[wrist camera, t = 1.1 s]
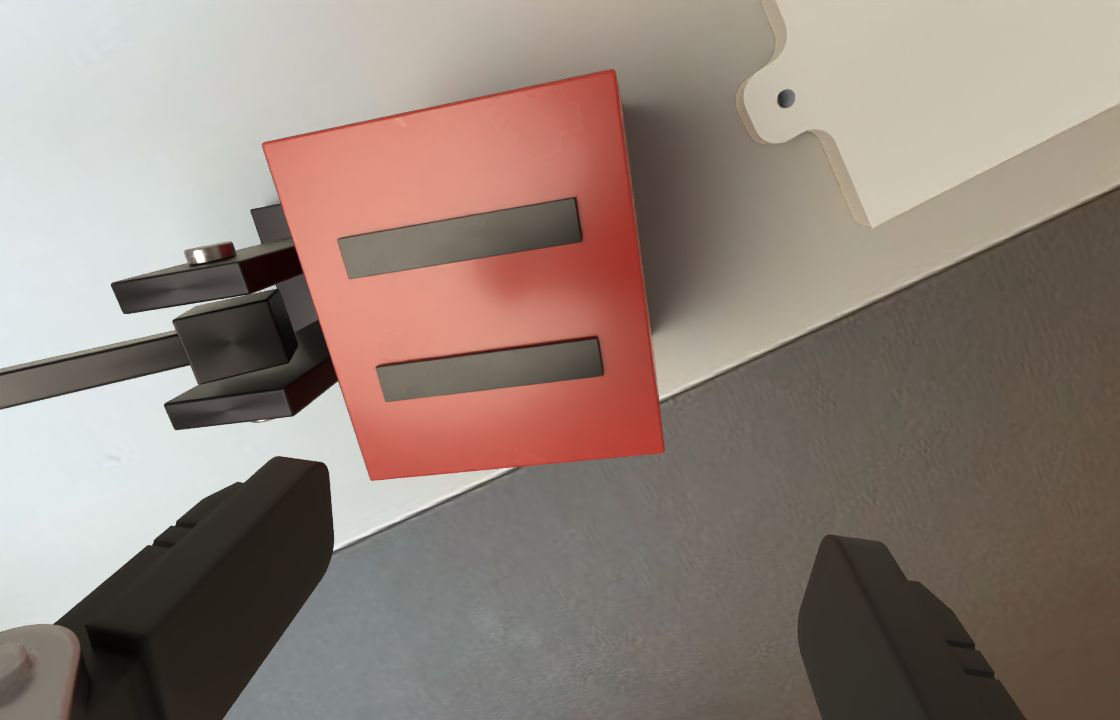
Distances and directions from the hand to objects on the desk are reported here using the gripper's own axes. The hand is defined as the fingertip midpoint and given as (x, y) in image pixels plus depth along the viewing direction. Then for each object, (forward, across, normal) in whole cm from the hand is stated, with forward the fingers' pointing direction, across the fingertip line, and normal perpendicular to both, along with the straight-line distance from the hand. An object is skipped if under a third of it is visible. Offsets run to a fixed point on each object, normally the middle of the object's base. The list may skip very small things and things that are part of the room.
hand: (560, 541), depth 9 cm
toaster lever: (+9, +17, +2) cm, 19 cm away
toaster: (+20, +4, -1) cm, 21 cm away
